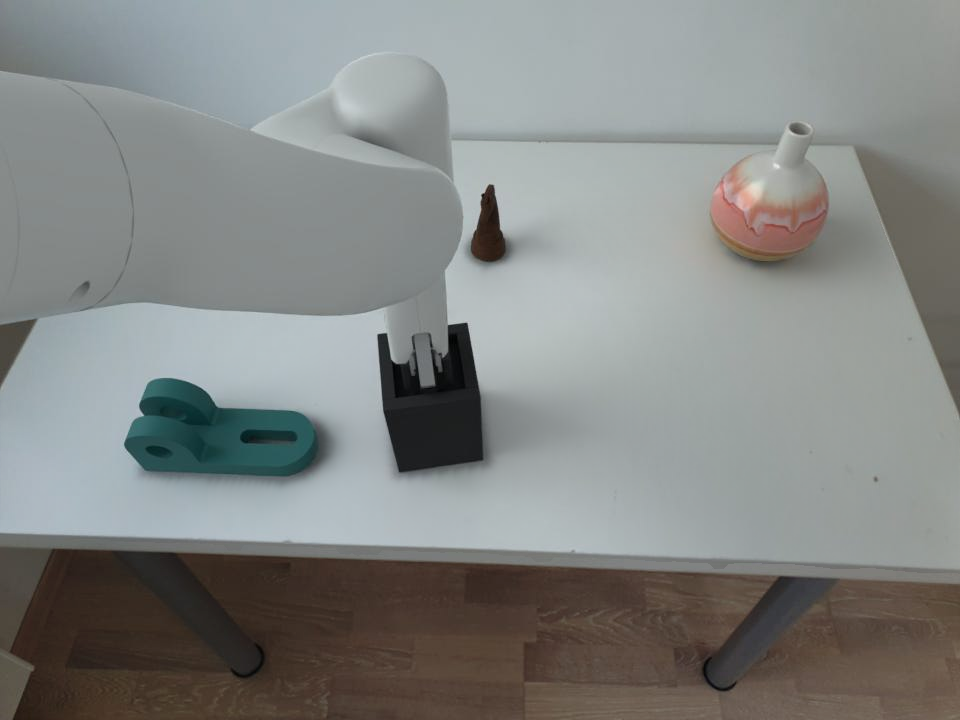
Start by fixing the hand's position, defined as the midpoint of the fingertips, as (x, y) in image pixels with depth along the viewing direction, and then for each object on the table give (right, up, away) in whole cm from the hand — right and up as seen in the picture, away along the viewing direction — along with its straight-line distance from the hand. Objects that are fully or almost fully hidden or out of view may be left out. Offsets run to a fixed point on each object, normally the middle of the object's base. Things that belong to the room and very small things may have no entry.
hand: (426, 365), depth 67 cm
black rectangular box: (0, -7, +10) cm, 12 cm away
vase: (+41, +16, +26) cm, 51 cm away
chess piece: (+6, +15, +26) cm, 31 cm away
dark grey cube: (0, 0, 0) cm, 0 cm away
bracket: (-21, -9, +10) cm, 25 cm away
